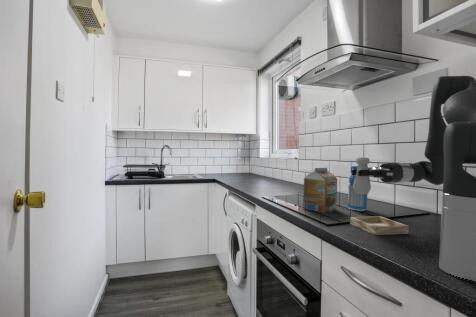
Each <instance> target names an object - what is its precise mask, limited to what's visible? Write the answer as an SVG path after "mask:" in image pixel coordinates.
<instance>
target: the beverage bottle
mask: <svg viewBox="0 0 476 317" xmlns="http://www.w3.org/2000/svg"><path fill="white" fill-rule="evenodd" d="M357 167H358V165H351V166H350V171H351V170H352V169H357ZM355 176H356V175H352V174H351V175H350V176H349V179H348V182H349V183H348V184H347V193H348V194H347V195H348V196H347V209H349V210H351V211H355V210H356V212H363V211H365V210H366V211H367V210H368V194H358V193H356V192H355V190H354V188H353V184H354V180H355Z"/></svg>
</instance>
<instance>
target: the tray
mask: <svg viewBox="0 0 476 317" xmlns="http://www.w3.org/2000/svg"><path fill="white" fill-rule="evenodd" d="M349 224H350V226H351V225H352V226H354V227H355V228H359V229H361V230H363V231H366V232H367V233H369V234H372V235H374V236H385V235H387V236H388V235H389V236H390V235H404V234H405V235H407V234H409V227H410V226H409V225H407V224H403V223H401V222H398V221H395V220H392V219H389V218H386V217H383V216H381V215H380V216H379V215H375V216H372V215H371V216H370V215H369V216H350V217H349Z"/></svg>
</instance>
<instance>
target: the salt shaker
mask: <svg viewBox="0 0 476 317" xmlns="http://www.w3.org/2000/svg"><path fill="white" fill-rule="evenodd" d="M355 163H356V164H357V166H358V167H357V171H356V176H355V180H354V184H353V188H354V190H355V192H356V193H358V194H367V195H369V193H370V191H371V188H372V184H371V179H370V178H371V177H369V176H358V170H368V168H369V167H368V165H369V164H370V158H369V157H365V156H364V157H363V156H362V157H360V156H359V157H357V158H356V159H355Z"/></svg>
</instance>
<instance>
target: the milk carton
mask: <svg viewBox="0 0 476 317" xmlns="http://www.w3.org/2000/svg"><path fill="white" fill-rule="evenodd" d="M302 198H303V199H302V204H303V205H302V209H303V208H304V210H307V209H308V211H312V210H313V211H312V212H318V213H321V212H323V213H322V214H326V213H330V212H333V210H334V211H336V210H337V200H338V178H337V177H336V176H335V175H334V174H333V173H331V172H330V171H328V167H314V171H312V172H309V173H308V174H307V175H305V177H304V178H303V197H302ZM325 212H326V213H325Z"/></svg>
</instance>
